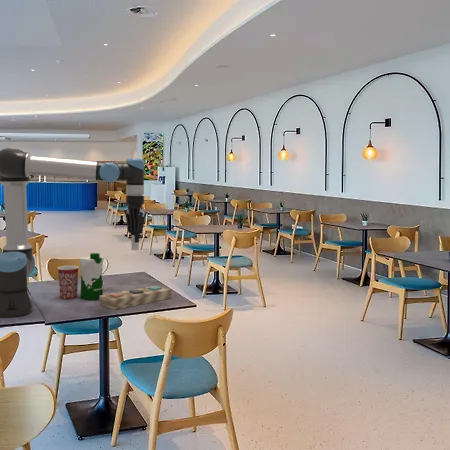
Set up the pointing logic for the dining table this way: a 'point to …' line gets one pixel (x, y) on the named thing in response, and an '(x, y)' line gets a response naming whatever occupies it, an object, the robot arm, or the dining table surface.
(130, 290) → the charcoal button
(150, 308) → the dining table surface
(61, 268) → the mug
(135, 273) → the dining table surface
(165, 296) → the oak button console
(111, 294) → the terracotta button
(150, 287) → the teal button
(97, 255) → the milk carton
